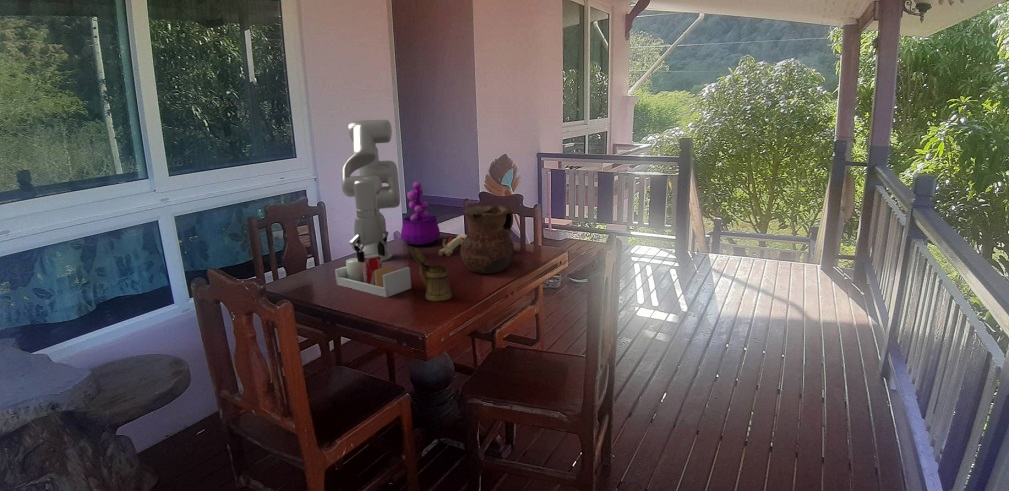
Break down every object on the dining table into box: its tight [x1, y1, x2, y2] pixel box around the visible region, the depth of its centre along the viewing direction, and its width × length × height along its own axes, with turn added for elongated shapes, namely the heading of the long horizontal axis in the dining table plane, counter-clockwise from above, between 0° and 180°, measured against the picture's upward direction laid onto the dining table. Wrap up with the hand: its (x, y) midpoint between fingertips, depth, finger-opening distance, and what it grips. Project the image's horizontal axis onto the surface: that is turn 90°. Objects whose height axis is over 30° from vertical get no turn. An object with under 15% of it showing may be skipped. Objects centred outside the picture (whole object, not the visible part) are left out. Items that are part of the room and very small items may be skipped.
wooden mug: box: [411, 246, 453, 302], centre depth 203 cm, size 9×14×18 cm, turn 74°
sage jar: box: [345, 257, 364, 283], centre depth 224 cm, size 7×7×9 cm
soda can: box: [362, 254, 383, 285], centre depth 218 cm, size 7×7×12 cm
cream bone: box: [437, 234, 468, 257], centre depth 269 cm, size 10×9×25 cm
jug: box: [460, 204, 515, 275], centre depth 233 cm, size 22×21×25 cm
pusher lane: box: [334, 266, 412, 298], centre depth 218 cm, size 28×12×8 cm, turn 53°
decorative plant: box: [400, 181, 441, 246], centre depth 280 cm, size 19×18×30 cm
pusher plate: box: [374, 264, 395, 287], centre depth 214 cm, size 1×8×8 cm, turn 143°
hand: (371, 258), depth 217 cm, fingers open, 9 cm apart
